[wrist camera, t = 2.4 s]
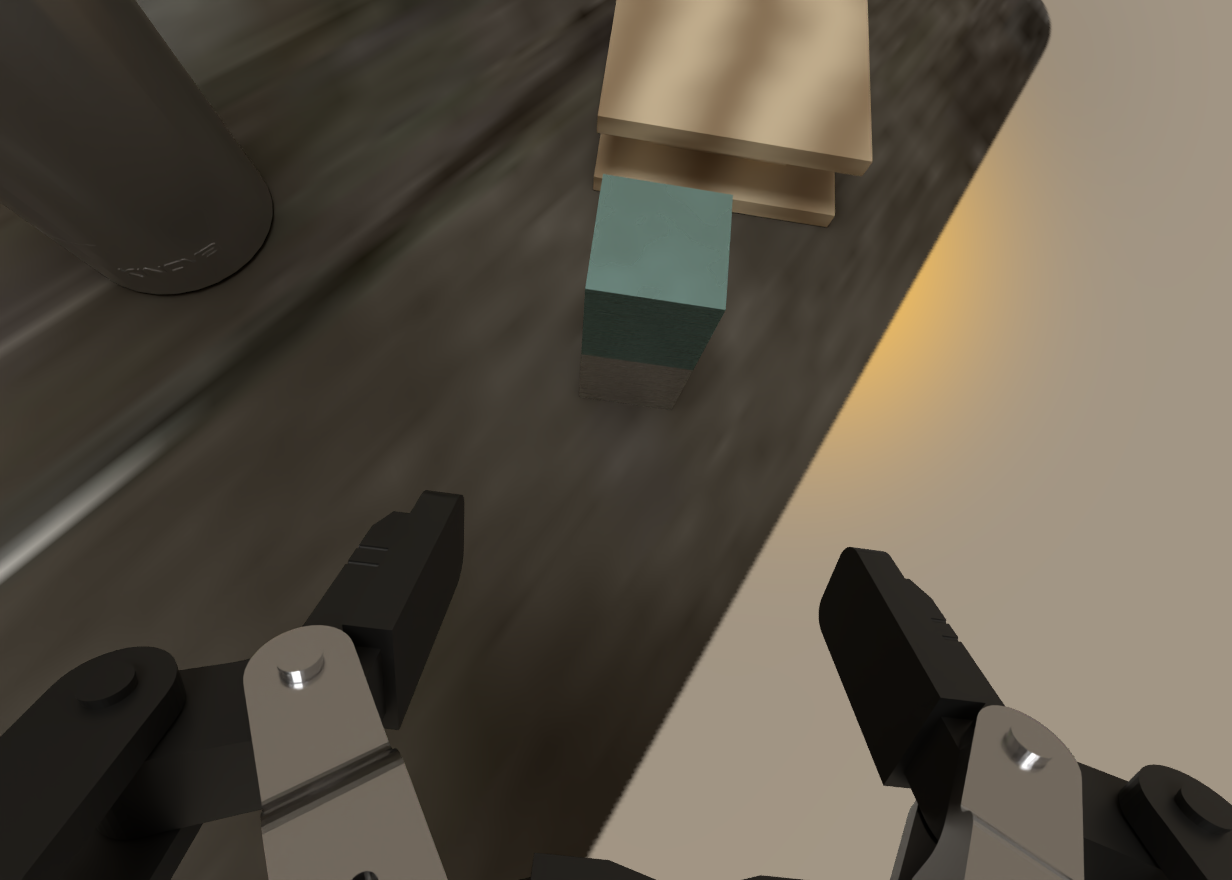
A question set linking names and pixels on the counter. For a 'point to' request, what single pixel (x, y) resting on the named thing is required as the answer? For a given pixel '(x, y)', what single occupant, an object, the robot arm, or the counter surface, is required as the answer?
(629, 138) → the stand
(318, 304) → the counter surface
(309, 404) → the counter surface
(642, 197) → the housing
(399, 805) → the robot arm
